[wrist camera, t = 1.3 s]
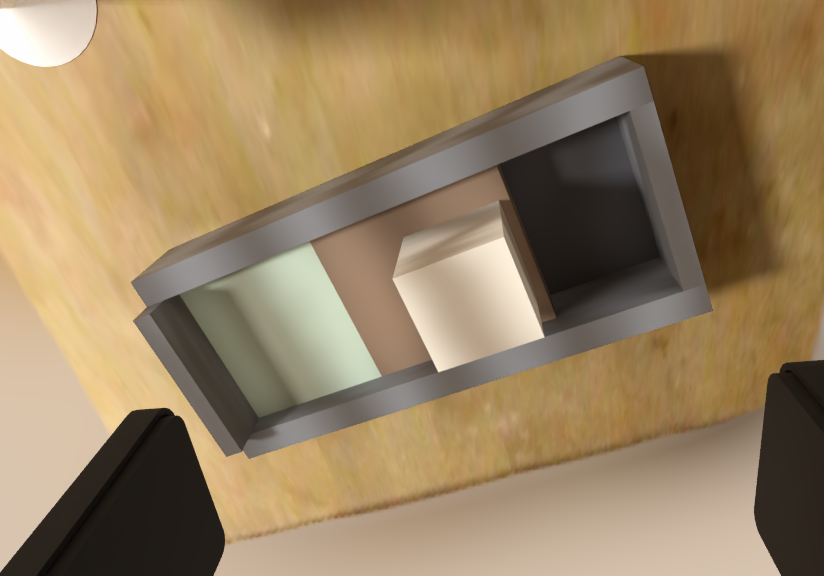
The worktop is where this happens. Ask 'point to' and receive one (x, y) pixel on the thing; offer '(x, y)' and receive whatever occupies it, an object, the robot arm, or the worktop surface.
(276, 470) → the worktop surface
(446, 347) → the block
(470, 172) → the tray
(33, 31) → the champagne flute
